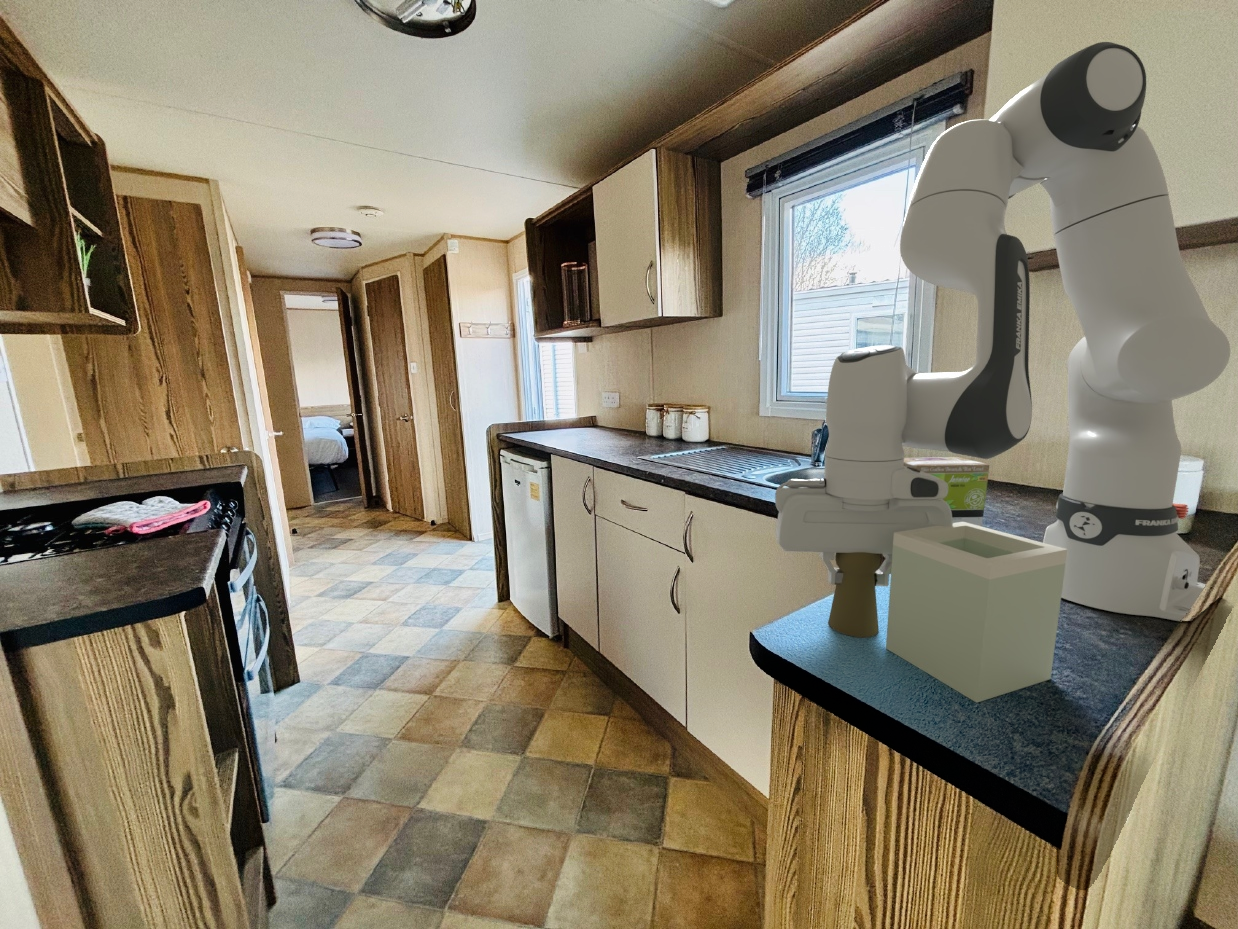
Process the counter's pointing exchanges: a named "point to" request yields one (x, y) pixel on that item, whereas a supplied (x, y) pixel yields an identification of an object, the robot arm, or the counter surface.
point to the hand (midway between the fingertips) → (857, 584)
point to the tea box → (958, 484)
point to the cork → (856, 595)
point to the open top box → (975, 607)
